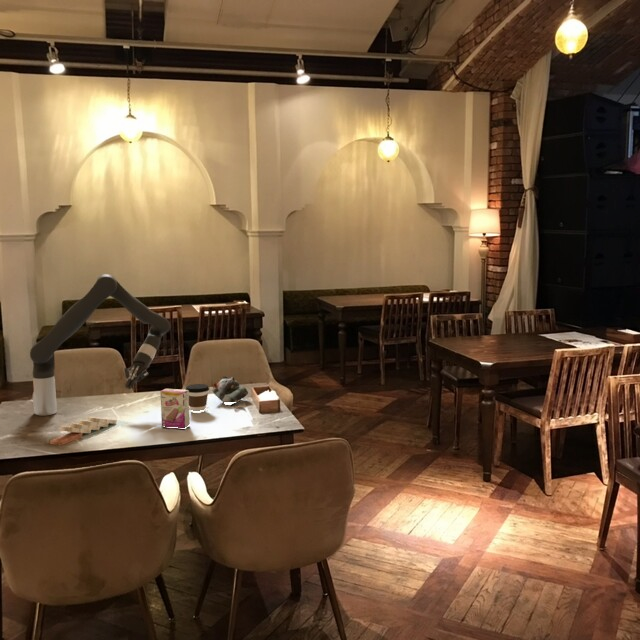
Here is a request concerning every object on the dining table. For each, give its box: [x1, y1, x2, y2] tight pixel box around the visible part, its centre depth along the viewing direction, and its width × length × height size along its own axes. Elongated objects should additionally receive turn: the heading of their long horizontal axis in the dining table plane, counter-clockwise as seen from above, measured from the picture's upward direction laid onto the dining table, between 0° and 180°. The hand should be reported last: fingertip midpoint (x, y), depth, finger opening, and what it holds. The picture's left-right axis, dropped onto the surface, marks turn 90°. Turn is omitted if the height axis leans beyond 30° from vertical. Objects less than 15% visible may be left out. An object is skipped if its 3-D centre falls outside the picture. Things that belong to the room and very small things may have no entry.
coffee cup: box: [184, 383, 210, 411], centre depth 325 cm, size 11×11×12 cm
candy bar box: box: [160, 388, 191, 428], centre depth 301 cm, size 11×5×16 cm, turn 74°
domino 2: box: [59, 425, 91, 433], centre depth 288 cm, size 5×2×12 cm
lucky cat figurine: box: [212, 376, 249, 403], centre depth 341 cm, size 15×12×14 cm
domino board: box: [79, 418, 130, 440], centre depth 299 cm, size 12×26×1 cm, turn 153°
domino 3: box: [68, 422, 100, 430], centre depth 292 cm, size 5×2×12 cm
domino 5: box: [87, 416, 118, 424], centre depth 301 cm, size 5×2×12 cm
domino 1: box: [49, 432, 82, 446], centre depth 284 cm, size 5×2×12 cm
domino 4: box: [78, 419, 108, 427], centre depth 297 cm, size 5×2×12 cm
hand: (127, 387), depth 314 cm, fingers closed
